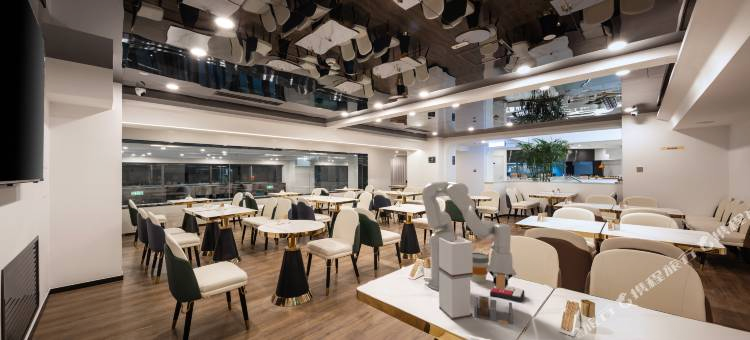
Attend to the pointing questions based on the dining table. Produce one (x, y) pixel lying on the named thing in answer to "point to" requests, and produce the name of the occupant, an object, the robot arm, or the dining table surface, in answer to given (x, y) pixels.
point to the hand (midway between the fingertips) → (500, 285)
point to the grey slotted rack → (495, 313)
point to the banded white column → (455, 277)
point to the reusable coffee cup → (480, 267)
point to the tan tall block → (500, 281)
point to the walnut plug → (483, 306)
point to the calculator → (508, 293)
